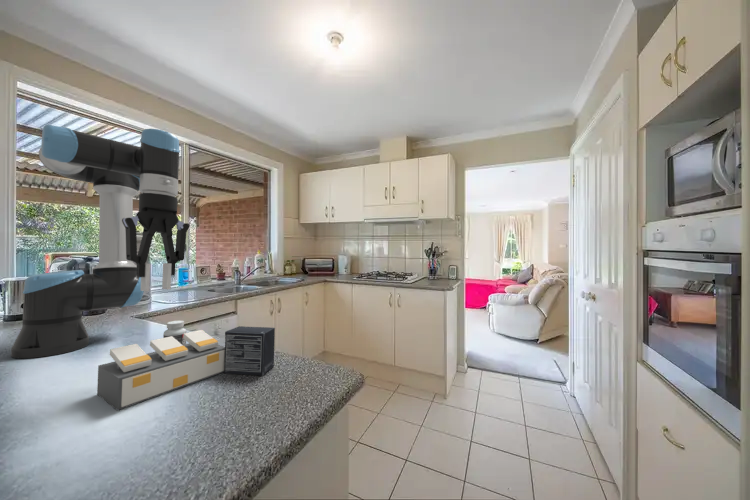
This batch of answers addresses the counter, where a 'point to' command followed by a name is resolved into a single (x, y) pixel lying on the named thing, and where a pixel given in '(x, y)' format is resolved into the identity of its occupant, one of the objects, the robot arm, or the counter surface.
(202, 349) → the switch
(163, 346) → the switch
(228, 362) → the small box
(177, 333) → the pill bottle
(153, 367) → the console
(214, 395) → the counter surface
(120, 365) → the switch
